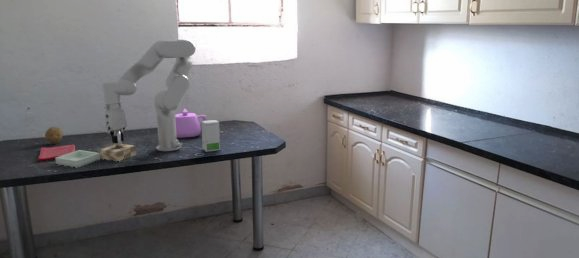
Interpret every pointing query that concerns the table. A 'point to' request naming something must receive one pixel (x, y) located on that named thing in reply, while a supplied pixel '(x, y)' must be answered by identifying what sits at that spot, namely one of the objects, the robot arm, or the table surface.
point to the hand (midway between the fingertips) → (118, 141)
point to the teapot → (188, 124)
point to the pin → (118, 134)
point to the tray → (77, 158)
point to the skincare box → (210, 135)
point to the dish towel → (55, 152)
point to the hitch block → (117, 152)
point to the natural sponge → (54, 135)
